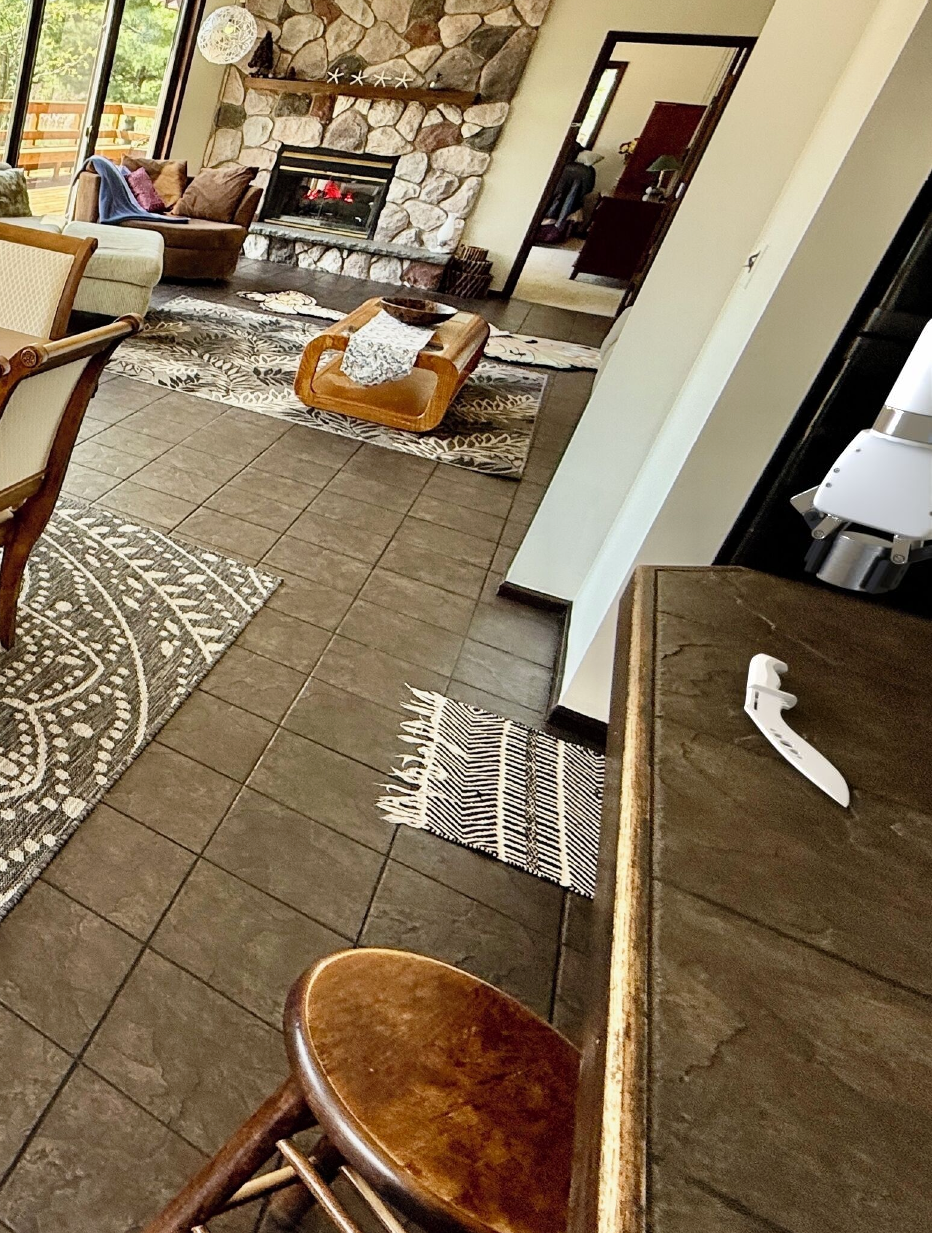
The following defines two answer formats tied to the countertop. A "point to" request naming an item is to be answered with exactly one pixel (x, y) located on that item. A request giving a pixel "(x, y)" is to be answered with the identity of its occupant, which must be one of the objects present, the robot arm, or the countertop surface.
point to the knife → (771, 723)
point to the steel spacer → (853, 559)
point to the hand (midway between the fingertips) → (845, 579)
